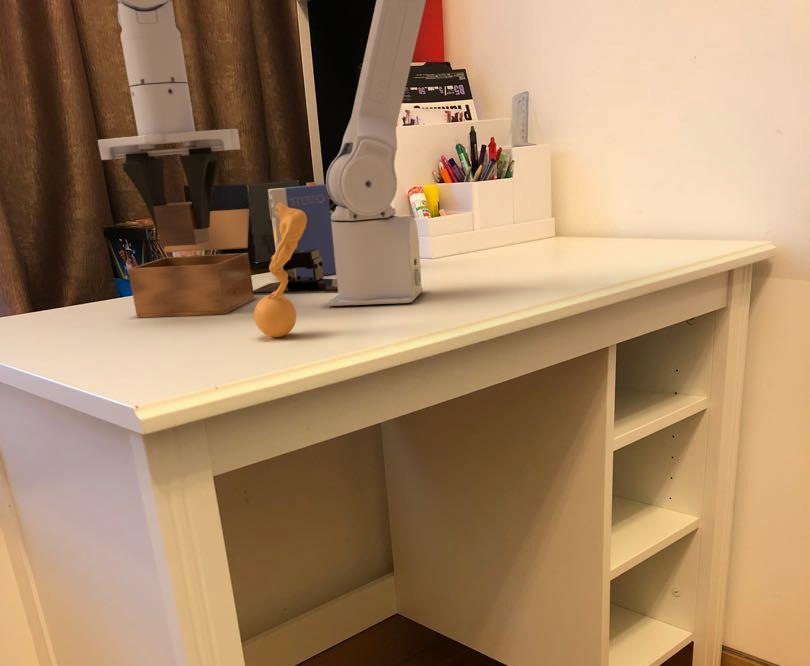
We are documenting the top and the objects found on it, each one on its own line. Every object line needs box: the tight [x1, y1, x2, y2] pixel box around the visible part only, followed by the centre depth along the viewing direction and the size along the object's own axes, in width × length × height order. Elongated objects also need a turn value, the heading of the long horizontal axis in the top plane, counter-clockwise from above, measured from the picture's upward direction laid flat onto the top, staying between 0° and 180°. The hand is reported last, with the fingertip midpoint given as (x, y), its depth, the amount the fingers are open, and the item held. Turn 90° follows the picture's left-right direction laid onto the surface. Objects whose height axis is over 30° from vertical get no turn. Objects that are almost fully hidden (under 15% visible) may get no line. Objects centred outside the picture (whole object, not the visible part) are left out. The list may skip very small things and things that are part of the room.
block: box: [153, 201, 210, 248], centre depth 93 cm, size 4×4×4 cm
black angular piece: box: [253, 249, 338, 295], centre depth 111 cm, size 12×7×5 cm, turn 76°
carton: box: [127, 252, 255, 319], centre depth 103 cm, size 11×10×5 cm
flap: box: [163, 208, 250, 253], centre depth 106 cm, size 11×5×1 cm
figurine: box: [253, 203, 307, 338], centre depth 82 cm, size 8×6×12 cm
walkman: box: [267, 181, 336, 277], centre depth 120 cm, size 8×3×12 cm, turn 112°
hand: (183, 229), depth 93 cm, fingers closed on block, 4 cm apart
